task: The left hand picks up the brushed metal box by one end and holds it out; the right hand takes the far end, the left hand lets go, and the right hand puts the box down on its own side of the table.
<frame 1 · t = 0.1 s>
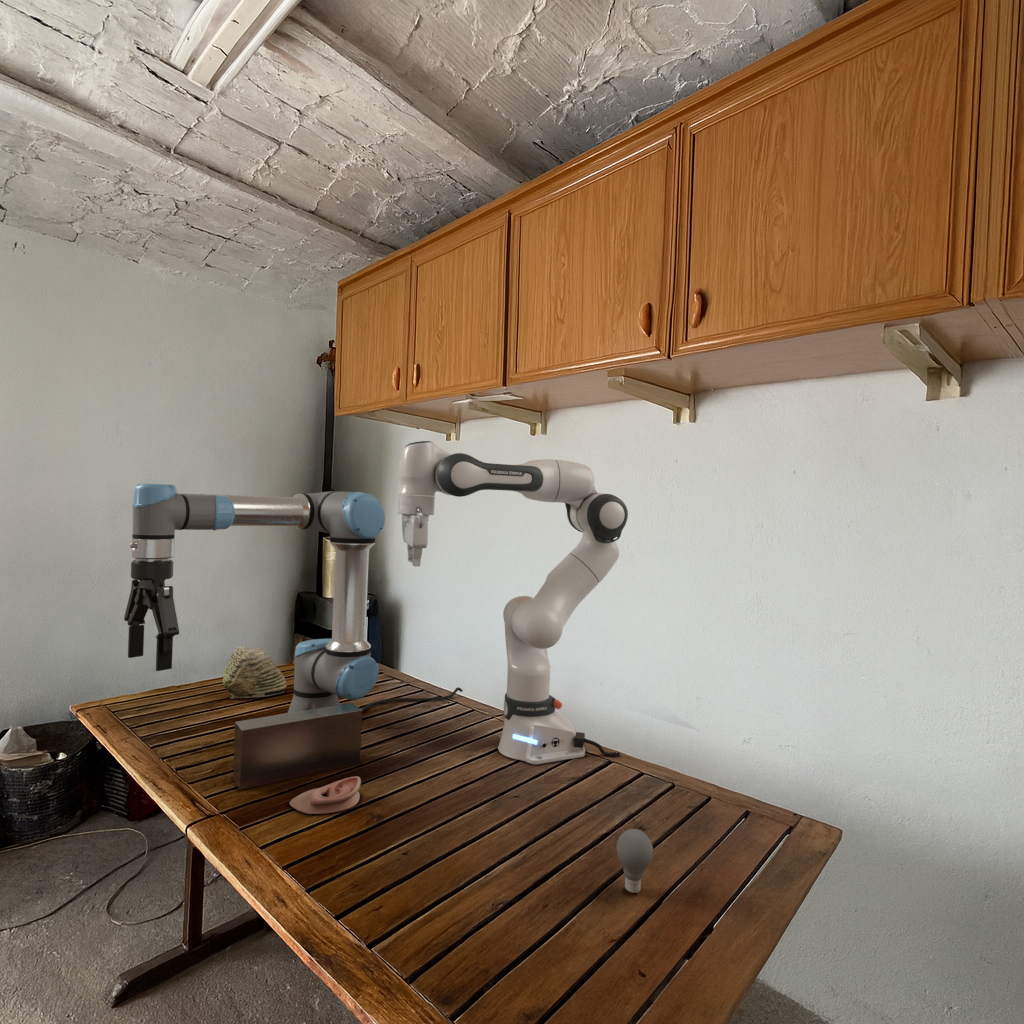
left hand: (149, 663, 129), 28 cm above the table, tool pointing down, fingers open, 13 cm apart
right hand: (413, 564, 155), 48 cm above the table, tool pointing down, fingers open, 8 cm apart
box: (299, 771, 145), on the table
anatomical model: (325, 802, 131), on the table
fossil: (254, 694, 198), on the table
light bulb: (632, 891, 106), on the table
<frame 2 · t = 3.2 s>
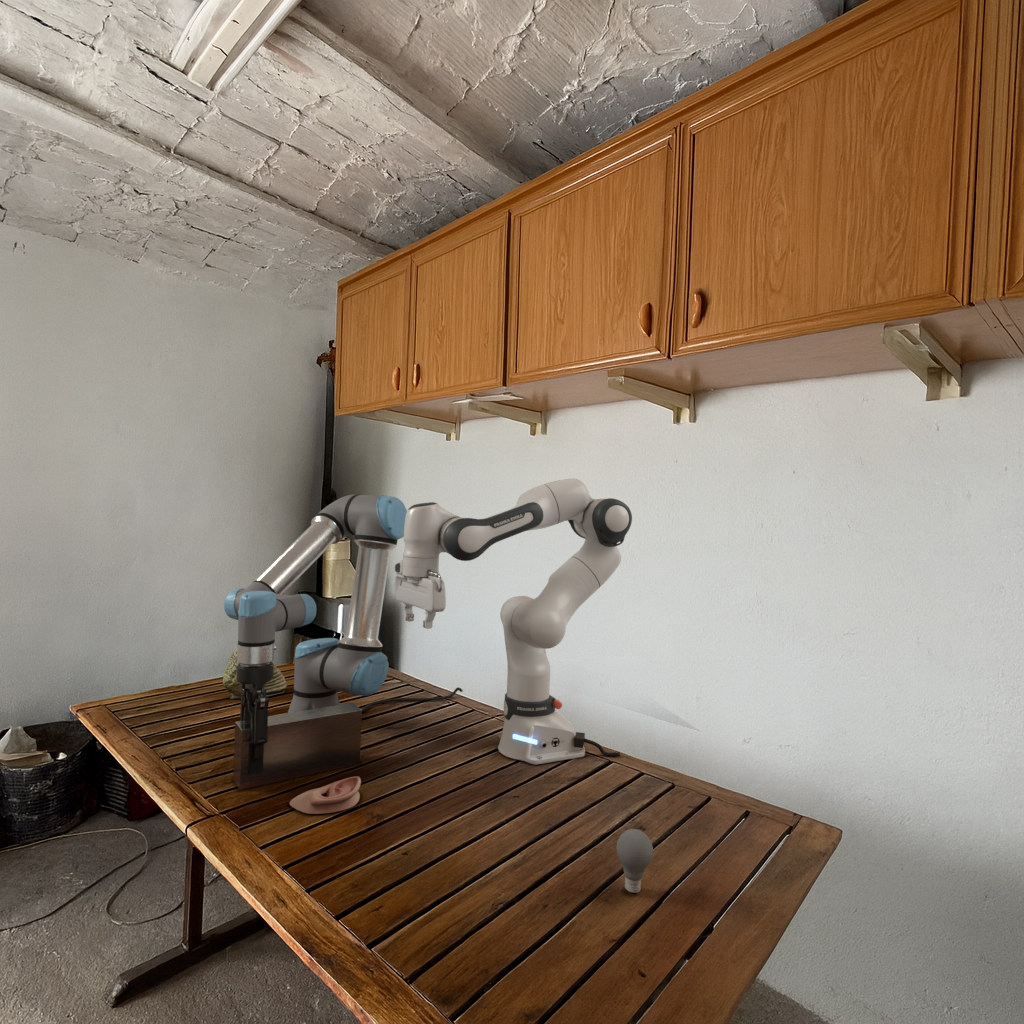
left hand: (251, 766, 139), 3 cm above the table, tool pointing down, fingers closed on box, 6 cm apart
right hand: (418, 624, 155), 33 cm above the table, tool pointing down, fingers open, 8 cm apart
box: (299, 771, 145), on the table, touching left hand
everything else where it was.
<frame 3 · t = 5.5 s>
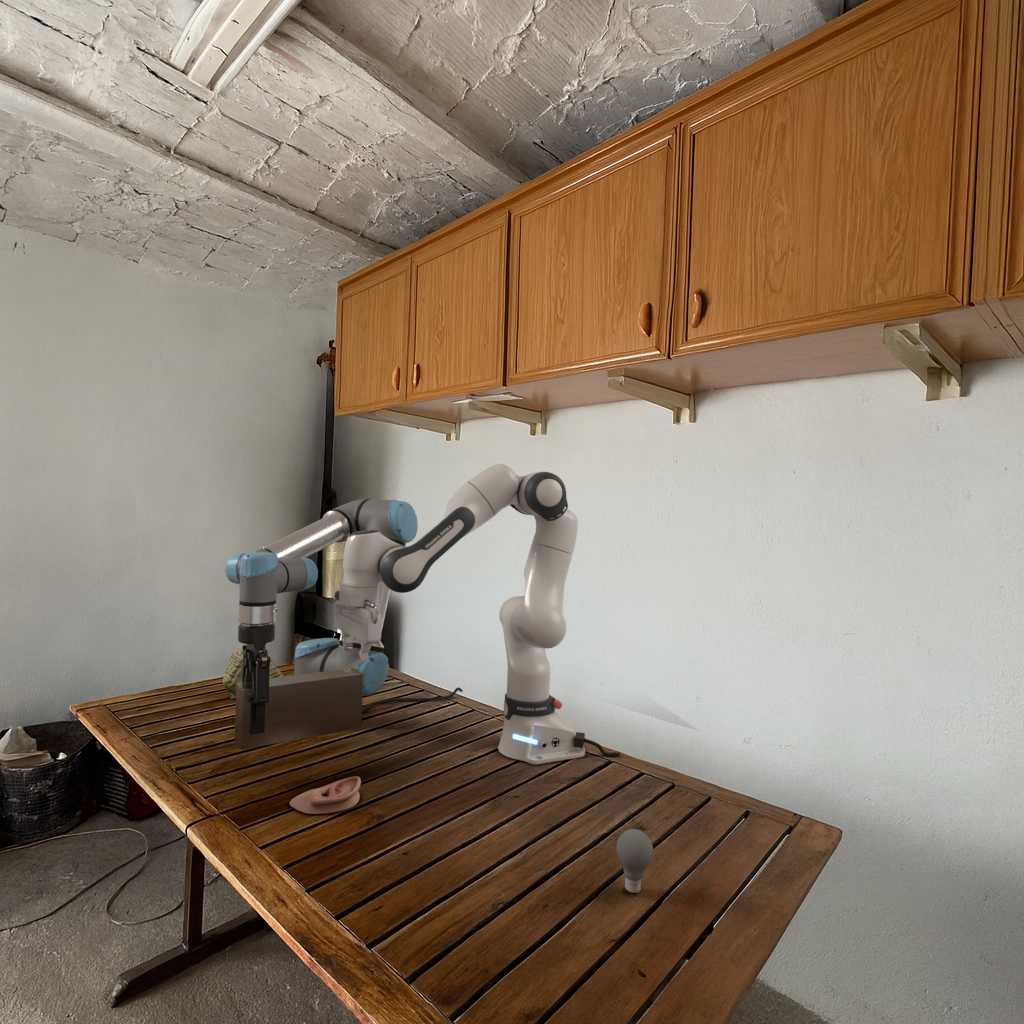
left hand: (253, 727, 139), 12 cm above the table, tool pointing down, fingers closed on box, 6 cm apart
right hand: (355, 654, 152), 26 cm above the table, tool pointing down, fingers open, 8 cm apart
box: (300, 733, 145), point 9 cm above the table, touching left hand
everything else where it was.
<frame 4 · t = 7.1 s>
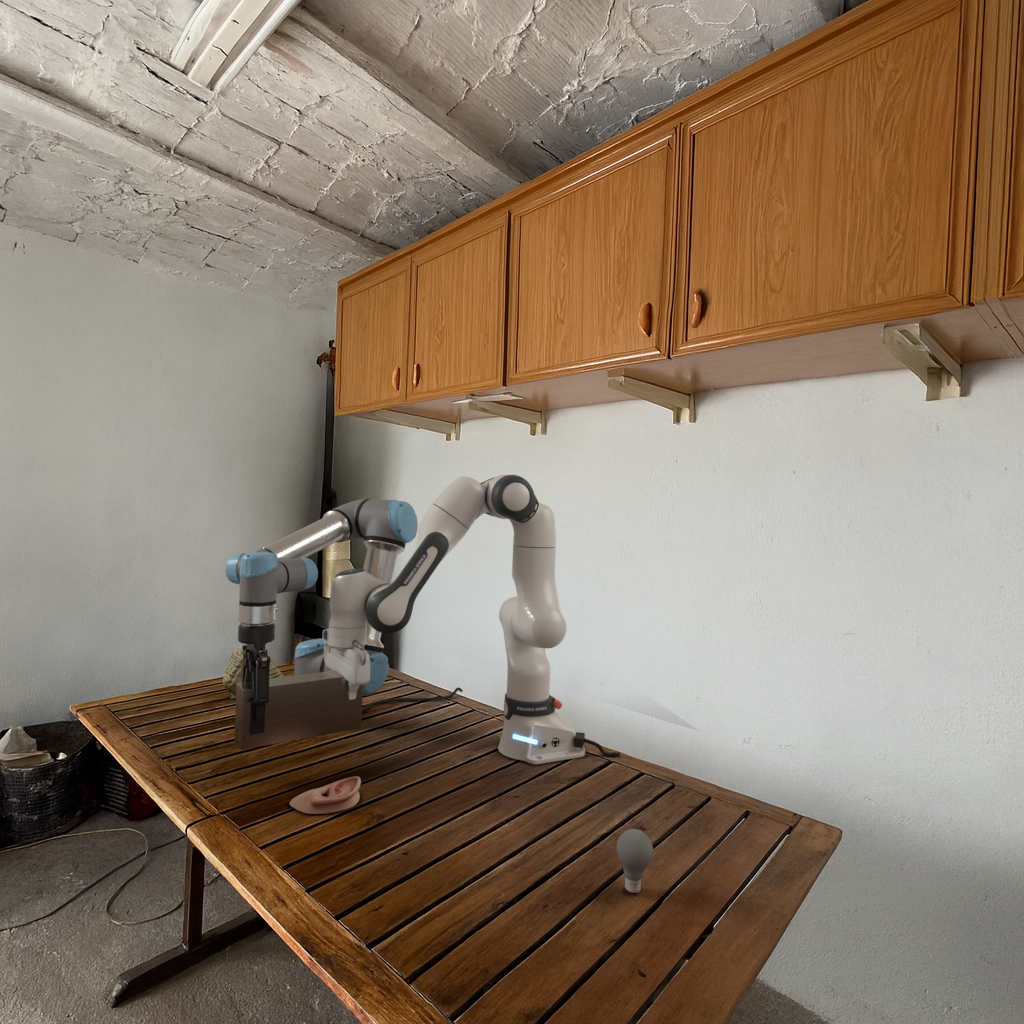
left hand: (253, 727, 139), 12 cm above the table, tool pointing down, fingers closed on box, 6 cm apart
right hand: (345, 694, 151), 16 cm above the table, tool pointing down, fingers closed on box, 6 cm apart
box: (300, 734, 145), point 9 cm above the table, touching left hand, right hand
everything else where it was.
when the left hand's fingers open (12 cm above the table, at t = 8.1 s): box stays where it is, held by the right hand.
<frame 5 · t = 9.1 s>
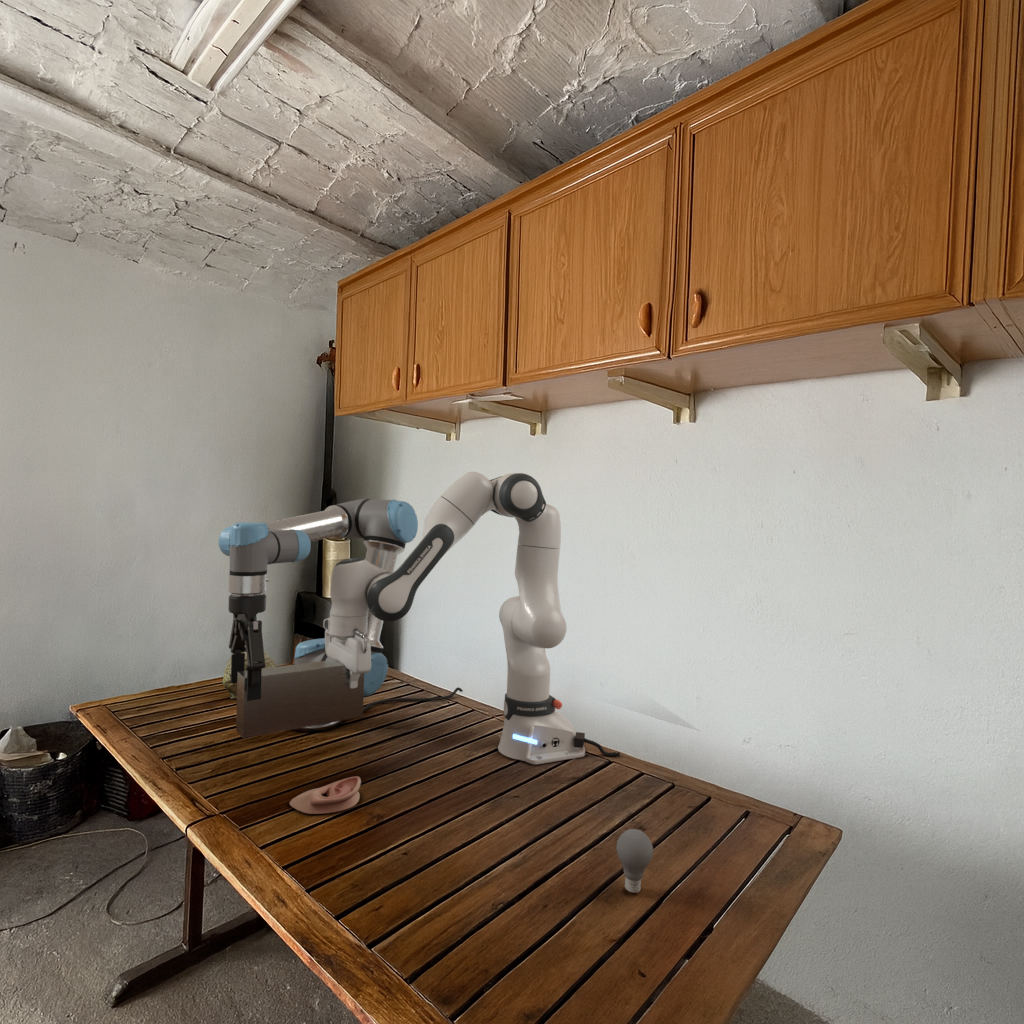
left hand: (245, 690, 138), 20 cm above the table, tool pointing down, fingers open, 13 cm apart
right hand: (346, 683, 151), 19 cm above the table, tool pointing down, fingers closed on box, 6 cm apart
box: (302, 722, 145), point 11 cm above the table, touching right hand
everything else where it was.
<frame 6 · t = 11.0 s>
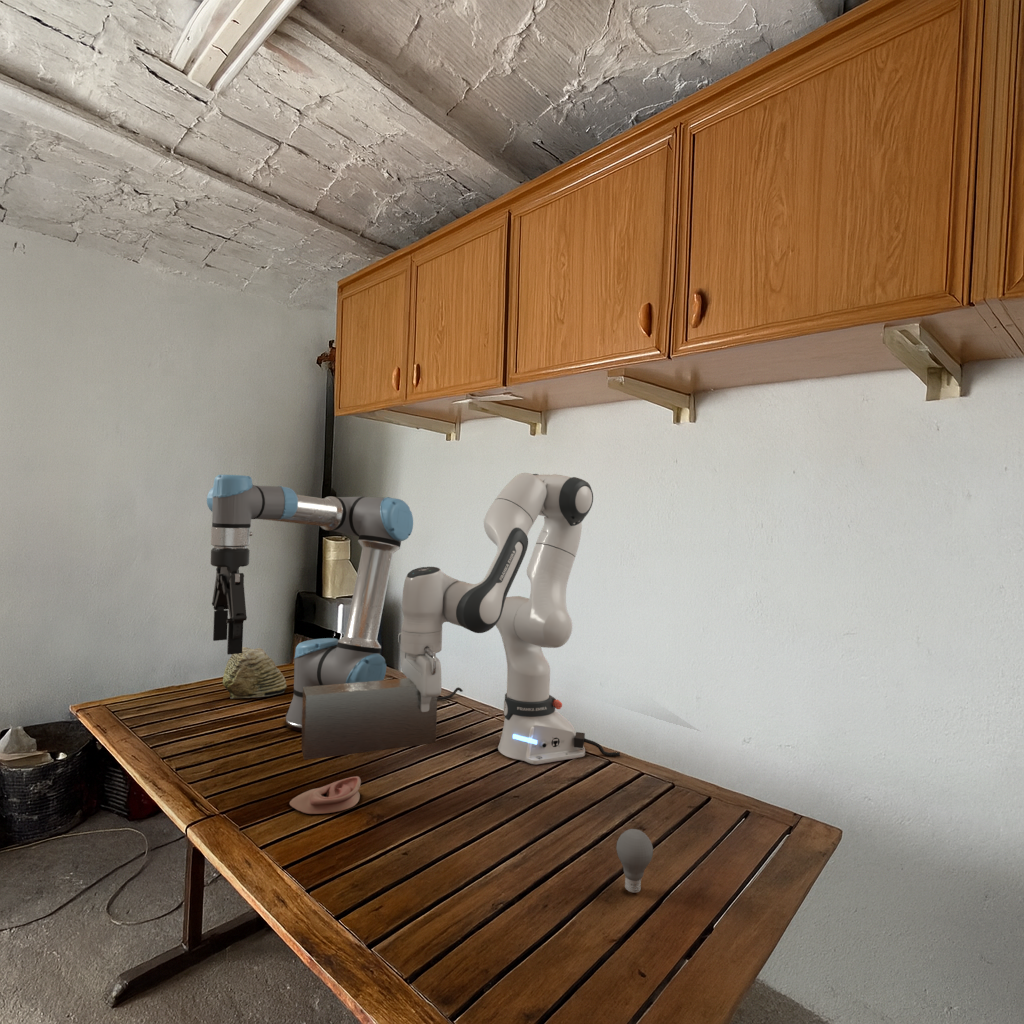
left hand: (227, 646, 135), 30 cm above the table, tool pointing down, fingers open, 13 cm apart
right hand: (419, 705, 138), 19 cm above the table, tool pointing down, fingers closed on box, 6 cm apart
box: (370, 746, 134), point 11 cm above the table, touching right hand
everything else where it was.
when the right hand's fingers open (9 cm above the table, at t = 14.8 s): box stays where it is, on the table.
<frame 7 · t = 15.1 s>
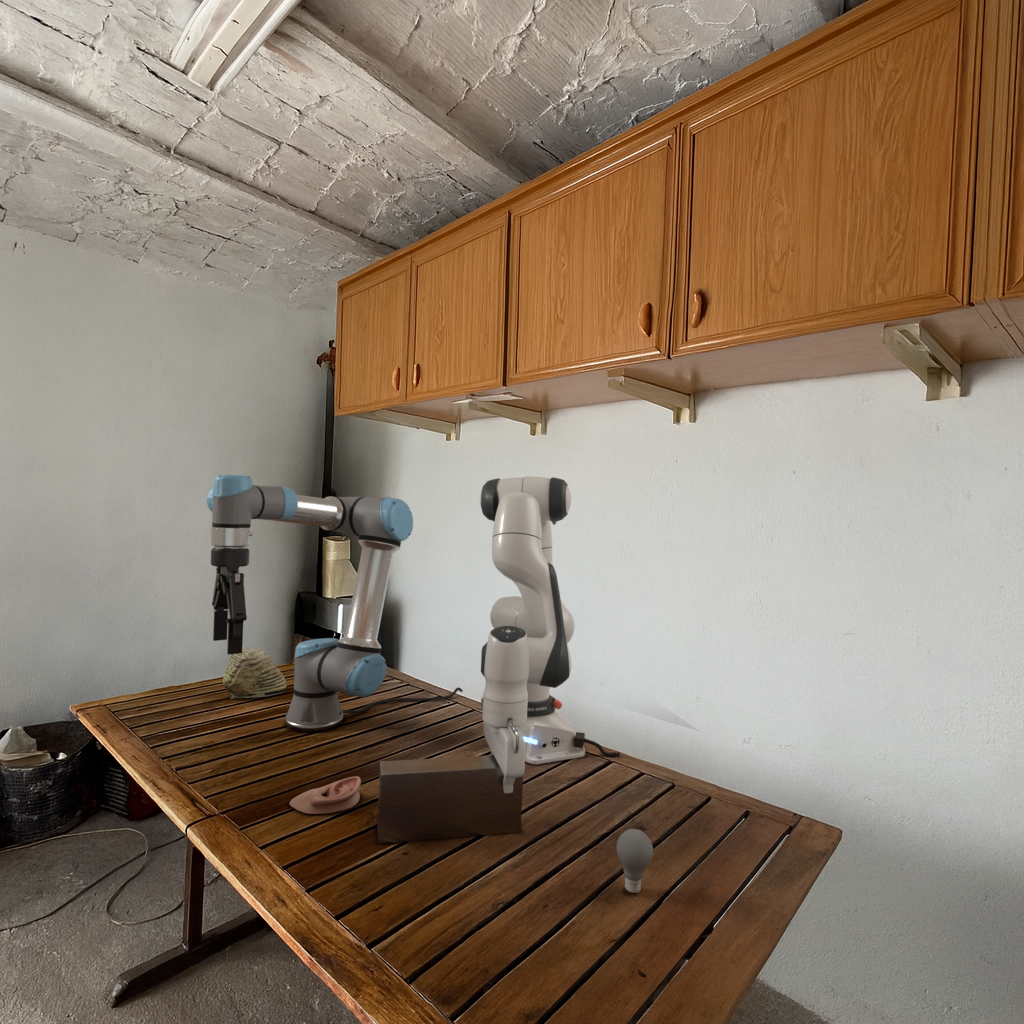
left hand: (227, 646, 135), 30 cm above the table, tool pointing down, fingers open, 13 cm apart
right hand: (501, 780, 125), 9 cm above the table, tool pointing down, fingers open, 8 cm apart
box: (449, 829, 123), on the table
everything else where it was.
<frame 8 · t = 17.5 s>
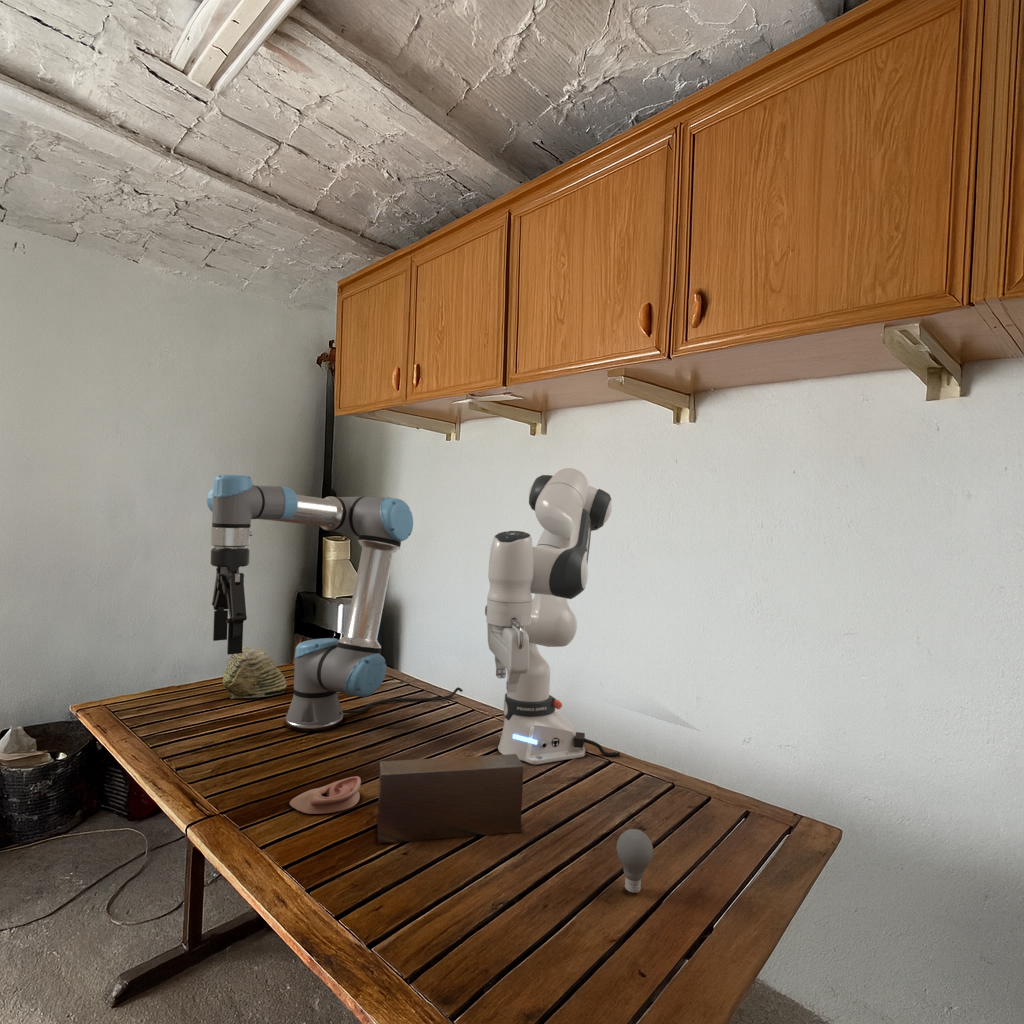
left hand: (227, 646, 135), 30 cm above the table, tool pointing down, fingers open, 13 cm apart
right hand: (506, 684, 124), 28 cm above the table, tool pointing down, fingers open, 8 cm apart
nothing on the table moved.
at the end: box inside the target area (10.0 cm from its centre), on the table; the left hand is holding nothing; the right hand is holding nothing; box at rest at the end (0.0 cm/s) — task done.
